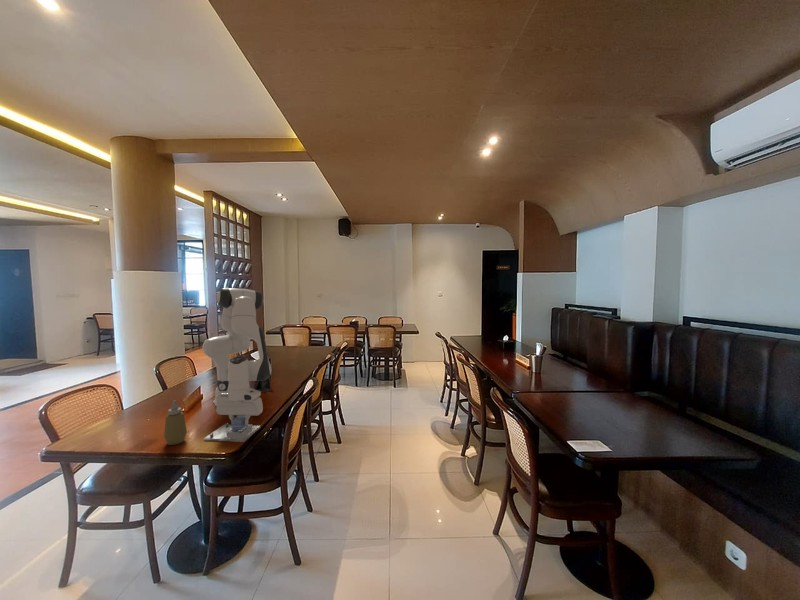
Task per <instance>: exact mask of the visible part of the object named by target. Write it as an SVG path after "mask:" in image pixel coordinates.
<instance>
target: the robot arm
mask: <svg viewBox="0 0 800 600" xmlns="http://www.w3.org/2000/svg"><path fill="white" fill-rule="evenodd" d="M216 303H217V305H218V306H219V307H220V308H223V309H222V314H221V318H220V319H221V320H220V326H221V328H222V329H223V330H224V331H225V332H227V334H225V335H219V336H213V337H210V338H207V339H205V340H204V341H203V344H202V351H203V354H204V355H205V356H207V357H208V358H210V359H211V360H212V361H213V363H214V364H215V367H216V375H217V376H216V378H217V379H216V382H215V383H216V388H215V392H214V399H213V401H212V403H213V404H214V406H215V407H216V410H215V412H216V413H217V415H219V416H221V415H222V416H223V415H224V416H228V418H229V420H230V421H231V423H232V420H233V419H234V418H235V416H245V418H246V420H244V421H243V425H248V424H249V419H250V418H251V416H252V417H253V416H255V417H256V416H260V415H261V414H262V413H263V409H264V407H263V406H264V405H263V401H262V398H261V394H262V393H261V392H260V391H257V390H255V389H252V388H251V387H250V385H249V381H255V382H257V381H263V382H264V381H265V380H266V379H268V378H270V377H271V376H272V365H271V362H270V359H269V355H268V354H269V353H268V348H267V343H266V338H265V333H264V330H263V328H262V327H260V326H259V325H258V323H257V311H256V310H259V309H260V308H262V305H263V304H264V296H263V294H262V292H261V291H259V290H256V289H255V290H254V289H249V288H235V287H233V288H232V287H230V288H229V287H222V288H220V289H219V290H218V292H217V294H216ZM251 340H253V341H254V342H255V343H256V346H257V351H258V352H257V353H258V356H259V357H258V359H255V360H254V359H253V360H248V358H247V357H246V356H235V357H232V358H230V355H233V354H238V353H241V352H244V351H247V350H248V349H249V348H251V347H250V346H251Z"/></svg>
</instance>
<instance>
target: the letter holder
mask: <svg viewBox="0 0 800 600" xmlns="http://www.w3.org/2000/svg"><path fill="white" fill-rule="evenodd" d="M249 385H250V388H252V389H255V390H257V391H260V392H261V394H262V392H263V393H268V391H269V392H271V390H272V388H271V379H270V377H269V378H268V379H266V380H265V381H249Z"/></svg>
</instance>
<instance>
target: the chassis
mask: <svg viewBox="0 0 800 600" xmlns="http://www.w3.org/2000/svg"><path fill="white" fill-rule="evenodd" d="M231 425H232V424H229V423H228V422H227V423H225V424H223V425H221V426H220V427H218V428H217V429H215V430H214V431H212V432H210V434H208V435H207V436H205V437H204V438H203V441H209V442H211V441H212V442H235V443H236V442H237V443H239V442H240V443H244V442H246V441H247V440H248V439H250V437H252V435H254V434H255V433H256V432H257V431H258V430H260V429H261V425H253V424H250V423H248V424H247V426H246V427H244V428H243V429H242V430H232V427H231Z"/></svg>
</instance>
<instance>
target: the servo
mask: <svg viewBox="0 0 800 600" xmlns="http://www.w3.org/2000/svg"><path fill="white" fill-rule="evenodd" d="M244 420H246V418H245V415H236V417H234V419H233V420H232V422H231V424H230V425H231V427H232V430H242V429H243V428H244V427H246V426H247V425H248V424H247V425H243V421H244Z"/></svg>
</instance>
